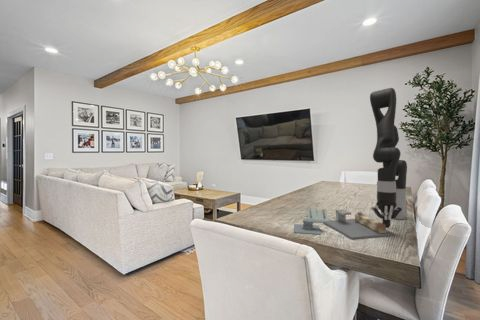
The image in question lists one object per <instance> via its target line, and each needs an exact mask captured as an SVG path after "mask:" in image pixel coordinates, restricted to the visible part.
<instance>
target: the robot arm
mask: <svg viewBox="0 0 480 320" xmlns="http://www.w3.org/2000/svg"><path fill="white" fill-rule="evenodd" d="M369 101H370V106H371V110H372V113H373V117H374V120H375V125H376V144H375V148H374V150H373V153H372V158H373V161H375V162H376V163H380V164H381V163H382V167H379V168H378V169H377V181H376V203H375V204H376V205H374V206H372V207H371V210H372V211H373V212H374V213H375V215H376V216H377V217H378V218H379V219H381V220H382V222H381V223H382V224H385V225H386V229H389V228H390V227H391V220H405V219H407V218H408V201H406V198H407V197H406V195H407V194H406V192H407V186H406V185H407V174H408V173H407V172H408V163H407V161H406V160H404V159H400V158H401V150H400V149H399V148H398V147H396V146H397V145H398V143H399V139H400V137H399V132H398V127H397V126H396V125H395V118H396V113H397V112H396V109H397V93H396V90H395V88H393V87H388V88H384V89H380V90H376V91H372V92H371V93H370V95H369ZM385 108H386V109H387V111H386V113H385V114H383V112H382V111H381V109H385ZM396 177H397V178H396Z"/></svg>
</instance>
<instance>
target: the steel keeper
mask: <svg viewBox="0 0 480 320" xmlns="http://www.w3.org/2000/svg"><path fill="white" fill-rule="evenodd" d="M348 215H349V216H350V215H352V212H350V211H348V210H346V209H335V220H336V221H337V222H346V219H347V216H348Z"/></svg>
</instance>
